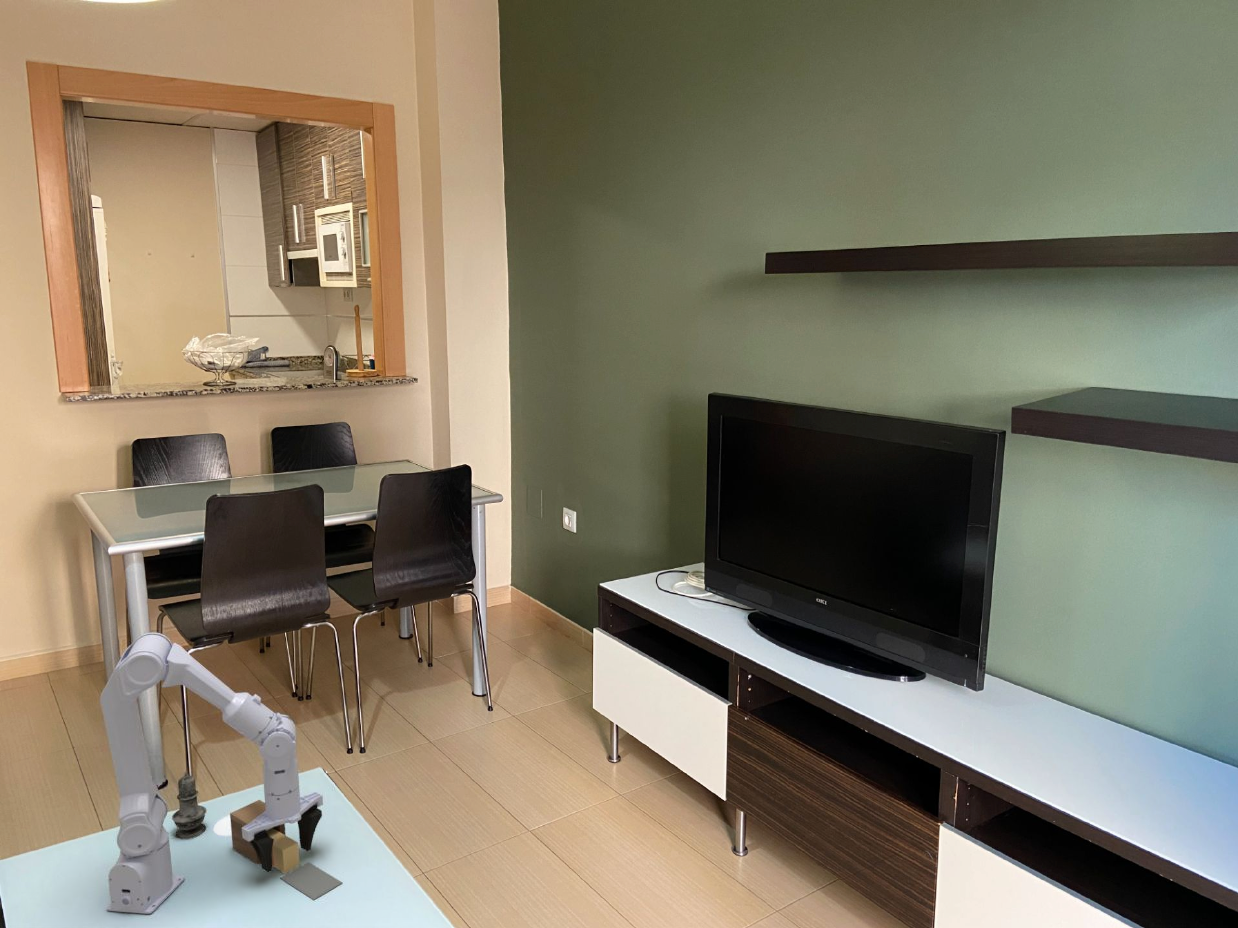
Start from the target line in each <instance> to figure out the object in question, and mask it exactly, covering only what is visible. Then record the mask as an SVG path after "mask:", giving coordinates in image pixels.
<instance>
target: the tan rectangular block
mask: <svg viewBox="0 0 1238 928" xmlns="http://www.w3.org/2000/svg"><path fill="white" fill-rule="evenodd" d="M266 833H268V836H269V837H271V838H273V839H274V841H273V846H272V867H273V866H274V867H273V868H275V869H277V870H279V871H280V872H282V873H283V874H287V872H288V873H289V872H291V871H292V870H293V869H294V868H295V869H296V867H297V868H298V866H299V867H300V865H301V864H300V852H299V851H300V850H299V842H298V841H296V840H295V839H293V838H291V837H289V836H288V835H286V834H285V835H284V834H282V833H280V832H279V831H277V830H275V829H273V828H271V829H269V830H267V831H266Z"/></svg>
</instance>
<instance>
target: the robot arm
mask: <svg viewBox="0 0 1238 928" xmlns="http://www.w3.org/2000/svg"><path fill="white" fill-rule="evenodd" d="M161 681H163V682H162V684H161V688H168V687H175V686H183V687H185V688H187V689H188V690H190V691H191V692H193V693H194V694H195V695H198V696H199V697H200V698H202V699H204V700H205V701H207V702H208V703H210V704H212V705H213V706H215V707H216V708H217V709H219V710H220V711H221V712H222V715H221V717H222V721H223V722H224V723H225V724H227V725H228V726H229V727H231V728H232V729H234V730H235V731H236V732H238V733H239V734H241V735H242V736H244V737H245V738H246V739H247V740H248V741H250V742H251V743H253V744H256V745H258V746H259V747H258V752H259V754H260V756H261V758H262V759H263V763H262V765H261V767H262V779H263V781H262V782H263V792H264V803H265V809H266V811H265V812H263V813H262V814H261V815H259V816H258V817H257V818H256V819H254V820H253V821H252V822H250V823H249V824H247V825H246V826H244V827H242V838H244V839H245V840H247V841H249V842H250V844H251V845H252V846H253V848H254V850H255V851H256V853H257V855H258V858H259V860H260V863H259V864H260V865H261V869H262V870H263V871H265V872H266V873H270V872H273V866H272V846H273V841H274V839H273V838H271V837H269V836H268V833H266V831H267V830H269V829H271V828H273V827H275V826H278V825H282V824H285V825H286V824H288V823H289V824H292V825H293V824H295V823H297V826H298V827H297V828H298V837H299V839H298V840H299V845H300V848H301V849H302V850H304V851H306V852H309V851H311V849H312V843H313V840H314V836H315V832H316V829H317V826H318V824H319V823H320V822H319V821H320V820H321V819H322V817H323V813H322V810H321V809H320V807H321V806H323V805H324V801H323V794H321V793H320V792H318V791H315V792H313V793H312V792H311V793H310V794H307V795H304V796H303V795H302V796H301V795H300V794H301V793H300V780H299V777H300V776H299V766H298V765H299V764H298V762H299V761H298V758H297V750H296V749H297V741H296V740H297V728H296V725H295V722H294V721H293V720H292V719H291V718H290V716H289V715H286V714H281V713H280V712H274V711H273V710H271V709H270V708H269V707H267V706H266V705H265V704H264V703H262V702H261V701H262V698H261V696H259V695H258V694H256V693H255V694H254V695H251V694H250V693H249V692H235V691H233V690H232V689H231V688H230V687H229V686H228V685H226V684H225V683H224V682H223V681H222V680H221V679H219V678H218V677H217V676H216V675H214V674H213V673H212V672H211V671H209V669H207V668H206V667H204V666H203V664H201V663H200V662H199V661H198V660H196V659H195V658H194V657H193V656H192V655H191V654H190V653H188V651H186V649H184V647H182V646H181V645H180V644H179V643H176V642H172V641H171V640H170V638H169V637H167V636H166V635H164V634H163V633H159V632H146V633H144V634H142V635H140V636H139V637H137V638H136V639H135V640H134V641H133V642H132V643H131V644H130V645H129V646H128V647H126V649H124V651H123V654H122V656H121V657H120V659H119V661H118V662H117V664H116V666H115V668H114V670H113V672H112V673H111V675H110V677H109V679H108V681H107V683H106V685H105V686H104V688H103V690H102V692H101V694H100V696H99V699H100V700H99V701H100V706H101V711H102V715H103V721H104V726H105V730H106V735H107V740H108V741H107V742H108V744H109V750H110V754H111V755H110V756H111V759H112V765H113V769H114V774H115V778H116V779H115V780H116V785H117V788H118V794H119V813H118V821H119V830H118V833H117V836H116V843H117V844H116V845H117V847H118V848H119V857H118V858H117V861H116V862H115V864H114V865H113V866H112V868H111V869H110V870H109V873H108V880H107V881H108V887H109V889H108V890H109V897H110V904H109V905H107V907H106V910H107V911H109V912H119V913H121V912H124V913H134V914H147V915H149V914H152V913H154V912H155V911H156V910H157V909H158V907H159V906H160V905H162V903H163V902H164V901H165V900H166V899H167V898H168V897H170V895H171V894H172V893H173V892H174V891H175V890H176V889H177V888H178V887H179V886H180V885H181V884H182V883H183V882H184V881H185V880H186V878H185V876H183V875H173V868H172V855H171V845H170V834H169V833H168V831H167V830H166V828H165V826H164V822H165V819H166V817H167V815H168V811H169V810H168V809H169V807H168V803H167V802H166V800H165V799H164V798H163V797H162V795H161V794H160V793H159V789H158V785H157V784H156V783H155V782H154V781H153V777H152V771H151V767H150V760H149V755H148V750H147V744H146V741H145V735H144V732H143V725H142V720H141V715H140V711H139V704H138V700H137V699H138V698H139V697H140V696H141V695H142V694H143V693H144V692H145V691H147V690H149V689H150V688H152V687H154V686H155V685H157V684H159V683H160V682H161Z"/></svg>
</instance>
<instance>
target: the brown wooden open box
mask: <svg viewBox="0 0 1238 928" xmlns="http://www.w3.org/2000/svg"><path fill="white" fill-rule="evenodd" d="M265 811H266V809H265V801H263V800H261V799H258V800H256V801H253V802H251V803H249V804H247V805H245V806H243V807H241V808H239V809H236V810H234V811H232V812H230V813H229V815H230V816H229V817H230V830H231V831H230V832H231V841H232V842H231V844H232V849H233V850H234V851H236V852H238V854H240V855H242V856H244V858H247V859H248V860H250V861H251V862H253V863H254V864H256V865H259V864H261V863H260V860H259V858H258V855H257V853H256V851H255V850H254V848H253V846H252V845H251V844H250V842H249V841H247V840H245V839H244V838H242V827H244V826H246V825H247V824H249V823H250V822H252V821H253V820H254V819H256V818H257V817H258V816H259V815H261V814H262V813H263V812H265ZM285 825H286V823H285V824H282V825H278V826H275V827H273V829H275V830H277V831H279V832H280V833H282V834H284V835H286V826H285Z"/></svg>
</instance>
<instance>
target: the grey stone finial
mask: <svg viewBox="0 0 1238 928" xmlns="http://www.w3.org/2000/svg"><path fill="white" fill-rule="evenodd" d="M177 787H178V789H177V790H178V794H177V796H176V799H177V800H178V802H179V808H178V810H177V811H175V812H174V813H173V815H172V816H171V820H172V821H173V823H174V825H175V827H177V830H175V833H174V835H175V837H176V838H177V839H180V840H189V839H193V838H196V837H199V836H201V835H203V834H204V832H205V831H206V830H207V826H206V824H204V823H203V822H204V820H205V817H206V813H207V808H206V807H205V806H203V805H200V804H199V803H198V797H197V796H198V795H199V791H198V790H197V789H196V779H195V777H194V776H193V775H190V774H189V773H188V772H186V771H185V772H184V773H183V776H181V777H180V778H179V779H178V782H177ZM200 834H201V835H200Z"/></svg>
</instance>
